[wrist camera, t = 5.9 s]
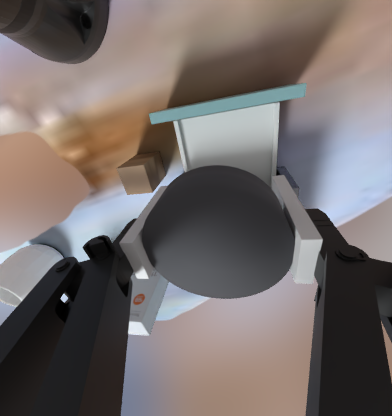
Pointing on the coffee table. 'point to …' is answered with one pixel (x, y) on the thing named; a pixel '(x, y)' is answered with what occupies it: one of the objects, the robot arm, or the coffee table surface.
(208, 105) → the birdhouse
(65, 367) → the robot arm
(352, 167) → the coffee table surface
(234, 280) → the puck
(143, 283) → the skincare box
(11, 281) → the cup
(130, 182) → the walnut block
